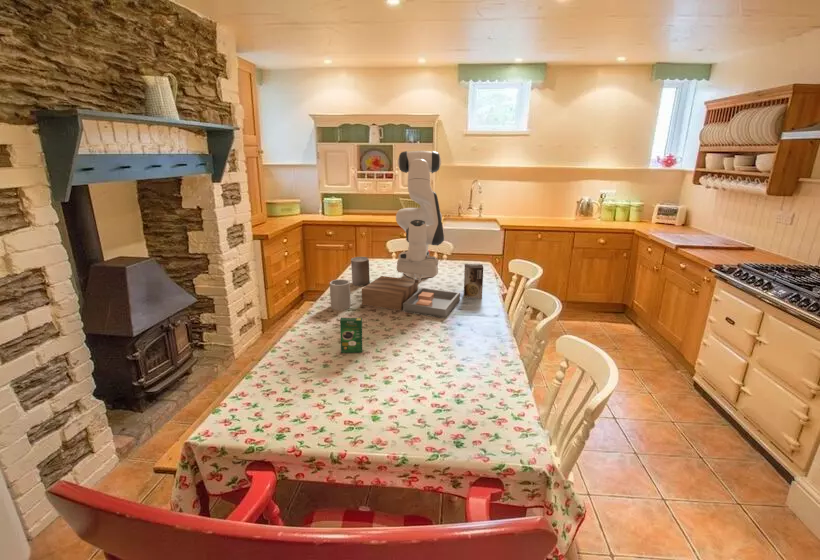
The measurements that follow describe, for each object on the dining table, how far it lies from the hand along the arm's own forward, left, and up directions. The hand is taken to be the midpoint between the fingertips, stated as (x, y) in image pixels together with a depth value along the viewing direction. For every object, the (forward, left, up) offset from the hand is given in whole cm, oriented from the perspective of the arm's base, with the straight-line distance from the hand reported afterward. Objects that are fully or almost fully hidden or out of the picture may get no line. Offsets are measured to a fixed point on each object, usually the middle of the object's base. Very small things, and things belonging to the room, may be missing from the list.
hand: (417, 282), depth 205 cm
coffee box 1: (+60, -3, -9) cm, 61 cm away
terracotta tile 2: (0, +5, -5) cm, 7 cm away
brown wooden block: (+5, -12, -9) cm, 16 cm away
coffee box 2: (-15, +24, -9) cm, 30 cm away
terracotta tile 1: (+11, +7, -5) cm, 14 cm away
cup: (+22, -30, -9) cm, 38 cm away
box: (+5, +10, -9) cm, 14 cm away
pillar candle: (-13, -38, -9) cm, 41 cm away
